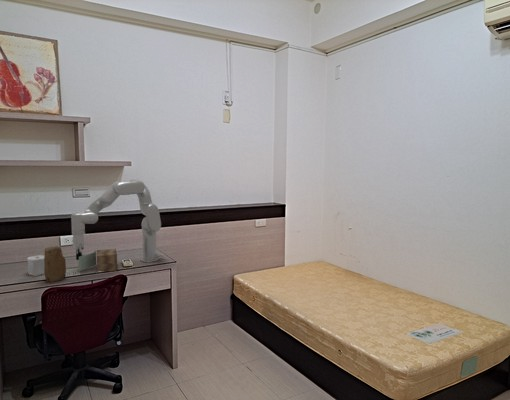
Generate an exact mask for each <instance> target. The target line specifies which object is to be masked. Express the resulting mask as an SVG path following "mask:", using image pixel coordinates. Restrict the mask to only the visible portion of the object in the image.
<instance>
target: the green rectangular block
mask: <svg viewBox="0 0 510 400" xmlns="http://www.w3.org/2000/svg"><path fill="white" fill-rule="evenodd" d="M94 266H97V250H94V251H92V252H89V253H86V254H82V256H79V260H78V271H80V272H81V271H83V270H86V269H89V268H92V267H94Z"/></svg>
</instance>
